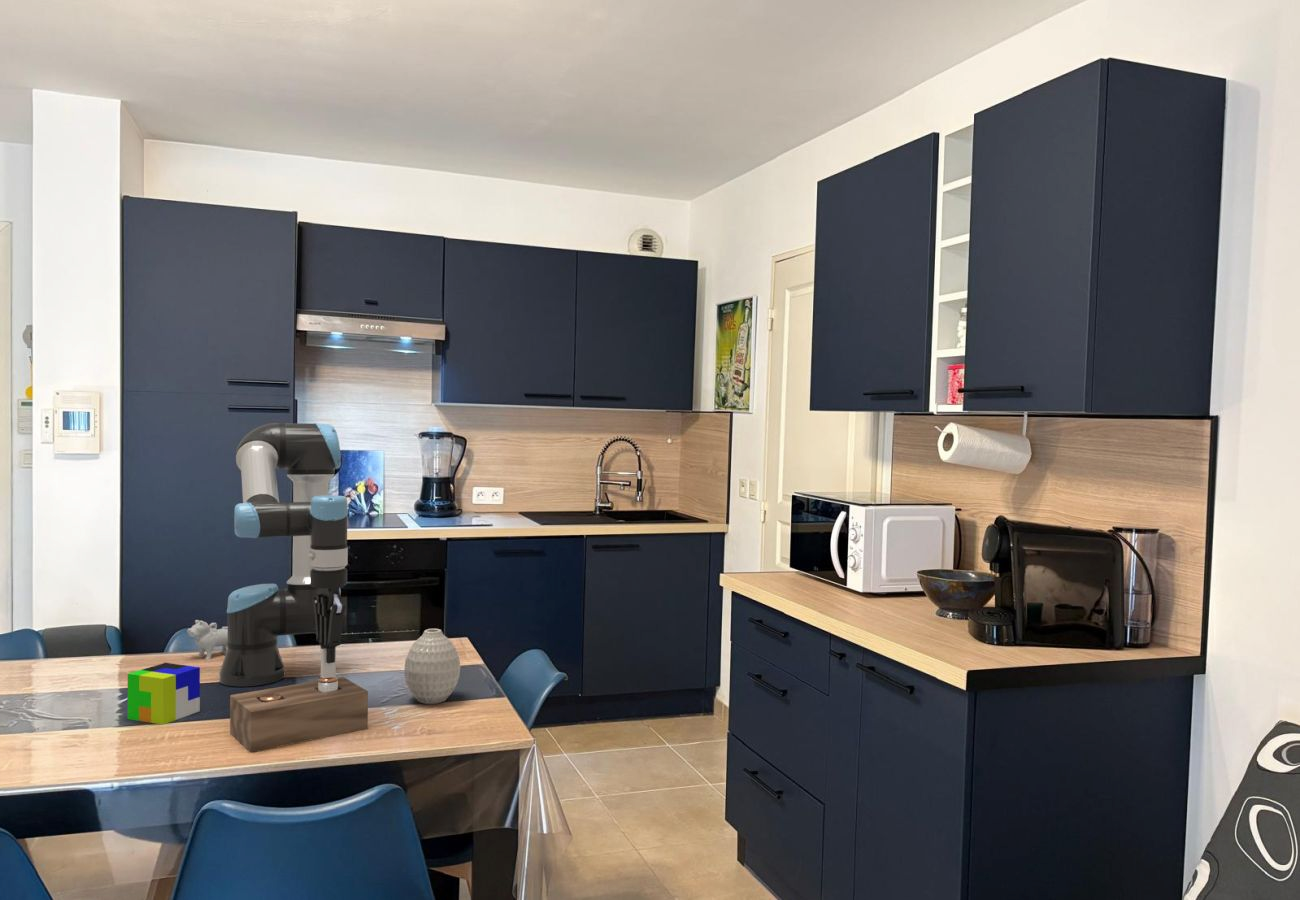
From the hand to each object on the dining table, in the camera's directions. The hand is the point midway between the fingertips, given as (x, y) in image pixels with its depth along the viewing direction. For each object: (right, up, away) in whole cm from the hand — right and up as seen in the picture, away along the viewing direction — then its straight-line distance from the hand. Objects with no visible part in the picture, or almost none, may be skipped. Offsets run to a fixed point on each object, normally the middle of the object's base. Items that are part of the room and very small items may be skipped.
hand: (328, 676), depth 199 cm
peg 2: (0, -8, 0) cm, 8 cm away
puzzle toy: (-38, -10, +5) cm, 40 cm away
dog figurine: (-51, -8, +56) cm, 76 cm away
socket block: (-5, -11, -3) cm, 12 cm away
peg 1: (-10, -10, -7) cm, 15 cm away
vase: (+18, -11, +19) cm, 28 cm away
